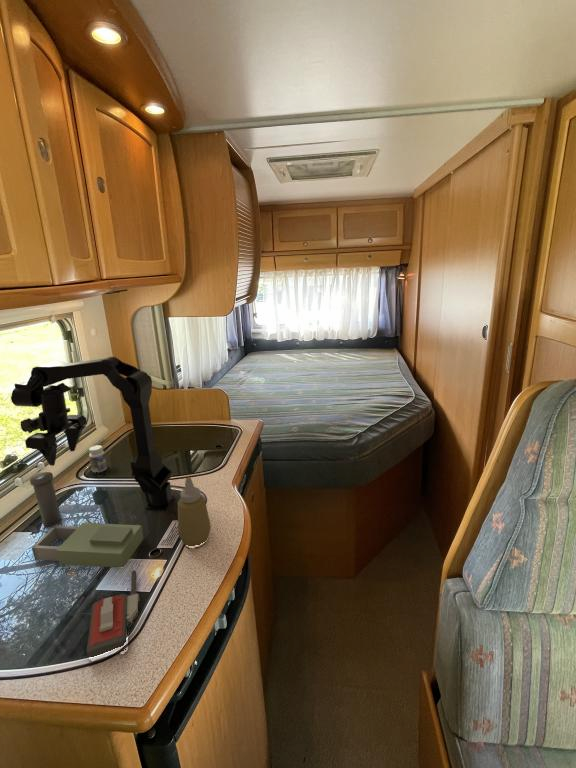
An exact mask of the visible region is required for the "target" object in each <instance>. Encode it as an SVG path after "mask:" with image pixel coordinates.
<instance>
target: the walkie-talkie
mask: <svg viewBox="0 0 576 768" xmlns="http://www.w3.org/2000/svg"><path fill="white" fill-rule="evenodd" d="M130 573H131V574H130V575H131V576H130V579H131V580H130V594H129V595H127V594H126V593H120V594H117V595H113V596H110V597H104V598H101V599H99V600H97V601H95V602H94V603H93V604H92V606H91V614H90V620H89V630H88V637H87V638H88V639H87V645H86V650H85V651H86V655H87V657H88V656H89V657H94V656H97V655H100V654H103V653H105V652H108V651H111V650H113V649H115V648H118V647H121V646H123V645H124V643H125V642H126V630H127V635H128V632H129V633H130V629H129V626H130V625H131V622H132V619H133V617H134V616H135V615H136V613H137V612H138V601H140V595H139V593H137V571H136V570H135V569H134V570H131V572H130ZM127 622H128V623H129V624H128V626H127ZM131 626H132V625H131ZM126 628H127V629H126ZM125 650H126V649H125ZM121 651H124V650H120V652H121Z"/></svg>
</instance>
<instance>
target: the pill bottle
mask: <svg viewBox="0 0 576 768" xmlns="http://www.w3.org/2000/svg"><path fill="white" fill-rule="evenodd" d="M88 450H89V453H88V455H89V456H88V457H89V461H90V462H89V463H90V467H91V471H92V472H93V473H96V472H97V473H101V472H104V471H105V470H107V469H108V466H107V465H108V464H107V460H106V455H105V451H104V450H103V446H102V445H97V444H96V445H92V446H90V447H89V448H88Z"/></svg>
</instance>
